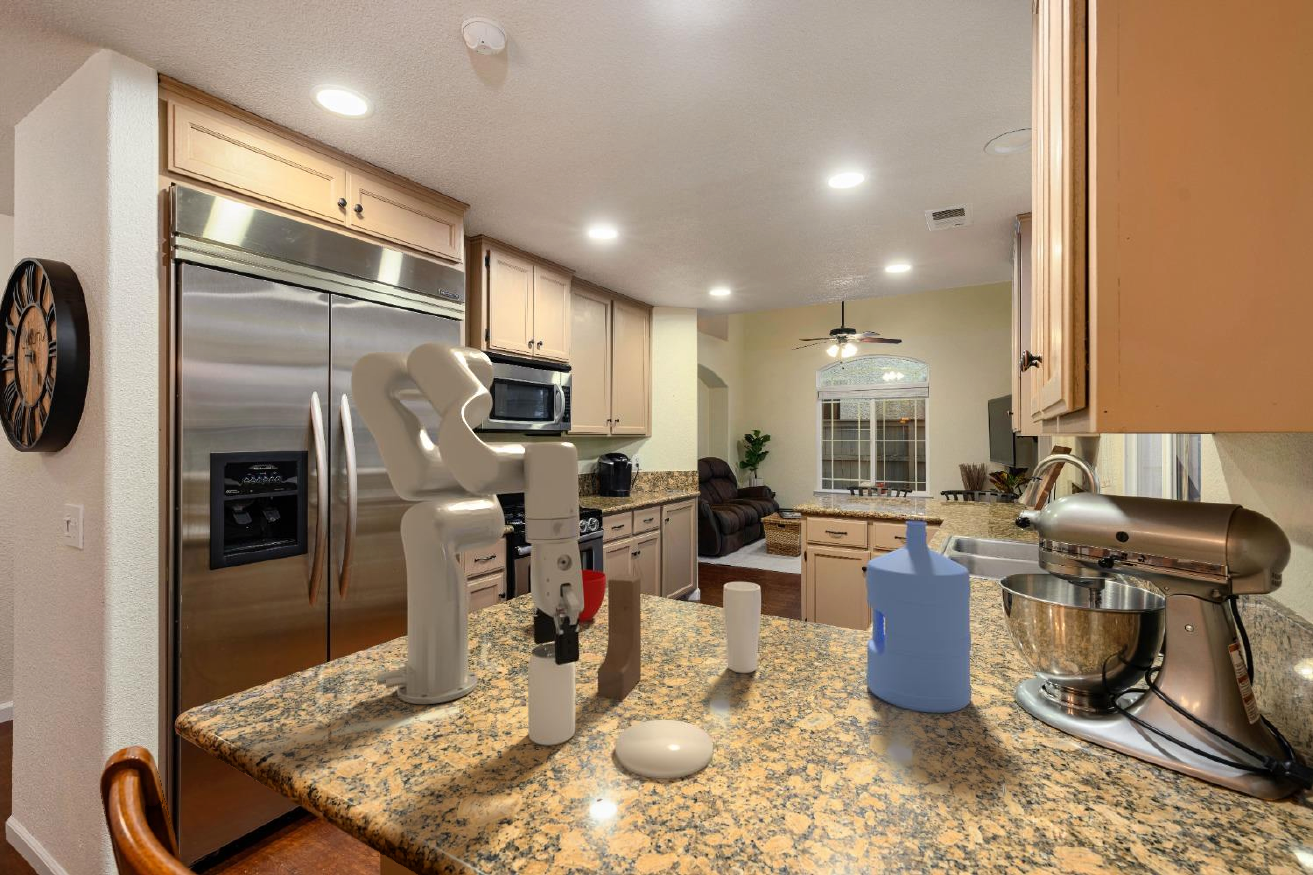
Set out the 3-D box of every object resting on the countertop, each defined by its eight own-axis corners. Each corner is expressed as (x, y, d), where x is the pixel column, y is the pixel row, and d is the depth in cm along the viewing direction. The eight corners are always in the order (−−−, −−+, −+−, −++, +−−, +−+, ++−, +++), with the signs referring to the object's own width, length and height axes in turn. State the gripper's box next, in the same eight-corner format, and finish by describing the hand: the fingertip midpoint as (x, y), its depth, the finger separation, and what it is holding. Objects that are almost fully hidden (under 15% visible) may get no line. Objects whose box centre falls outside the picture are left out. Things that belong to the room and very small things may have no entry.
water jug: (983, 691, 96) (982, 521, 96) (953, 726, 85) (952, 532, 85) (888, 667, 107) (887, 513, 107) (850, 694, 95) (849, 522, 95)
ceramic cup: (535, 631, 127) (535, 585, 127) (560, 609, 144) (560, 568, 144) (593, 634, 125) (592, 587, 125) (612, 611, 142) (611, 570, 142)
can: (535, 751, 78) (535, 661, 78) (523, 730, 84) (523, 646, 84) (581, 740, 81) (581, 653, 81) (566, 720, 87) (566, 639, 87)
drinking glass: (719, 672, 104) (718, 588, 104) (729, 659, 111) (728, 580, 111) (756, 678, 102) (756, 592, 102) (764, 664, 108) (764, 583, 108)
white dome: (642, 789, 69) (642, 781, 69) (600, 740, 81) (600, 732, 81) (732, 761, 75) (732, 753, 75) (681, 719, 87) (681, 712, 87)
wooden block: (622, 700, 93) (622, 587, 93) (596, 697, 94) (596, 585, 95) (641, 678, 102) (641, 575, 102) (617, 675, 103) (617, 573, 103)
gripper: (600, 533, 76) (604, 665, 76) (558, 521, 92) (561, 631, 91) (545, 539, 73) (548, 677, 72) (510, 525, 88) (513, 640, 88)
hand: (555, 651), depth 82 cm, fingers open, 9 cm apart
